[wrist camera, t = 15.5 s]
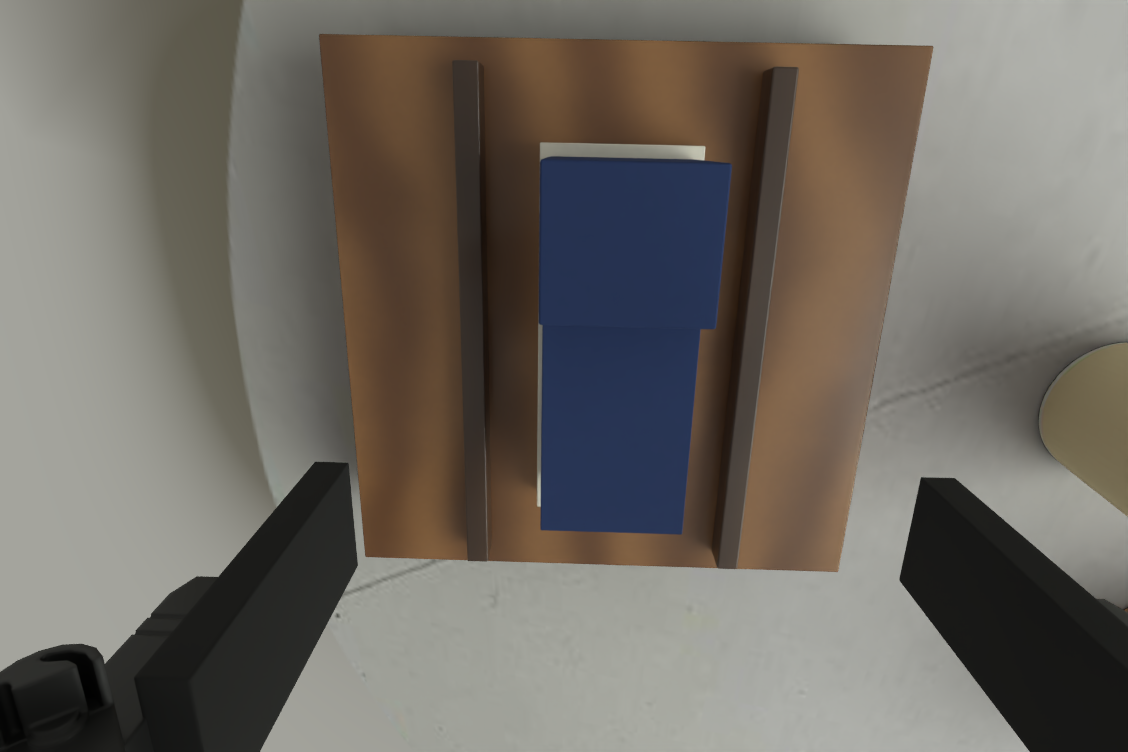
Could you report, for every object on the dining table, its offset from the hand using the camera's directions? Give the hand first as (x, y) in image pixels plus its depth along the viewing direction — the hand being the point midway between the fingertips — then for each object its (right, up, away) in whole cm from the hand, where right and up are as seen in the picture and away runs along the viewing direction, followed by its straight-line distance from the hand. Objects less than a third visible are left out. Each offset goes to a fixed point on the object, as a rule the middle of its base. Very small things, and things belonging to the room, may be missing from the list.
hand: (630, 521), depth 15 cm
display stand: (+1, +7, +20) cm, 21 cm away
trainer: (+1, +5, +14) cm, 15 cm away
